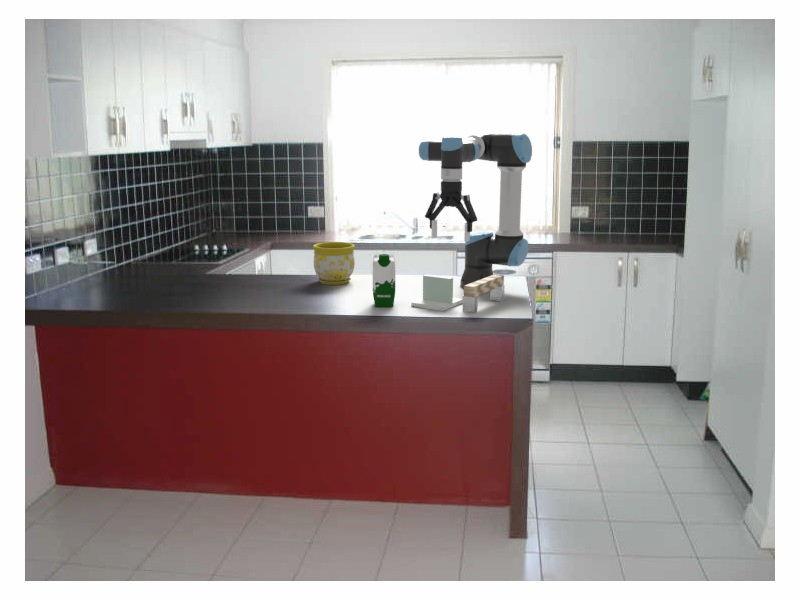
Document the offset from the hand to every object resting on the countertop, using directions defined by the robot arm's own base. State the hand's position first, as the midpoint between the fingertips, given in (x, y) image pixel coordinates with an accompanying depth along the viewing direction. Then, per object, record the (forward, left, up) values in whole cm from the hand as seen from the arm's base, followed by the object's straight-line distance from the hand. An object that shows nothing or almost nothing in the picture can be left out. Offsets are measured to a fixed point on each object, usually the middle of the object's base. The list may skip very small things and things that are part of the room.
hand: (450, 239), depth 300 cm
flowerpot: (-23, -70, -28) cm, 79 cm away
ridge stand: (-11, -11, -28) cm, 32 cm away
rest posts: (-19, +5, -28) cm, 34 cm away
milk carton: (+1, -28, -28) cm, 40 cm away
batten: (-19, +5, -22) cm, 29 cm away
